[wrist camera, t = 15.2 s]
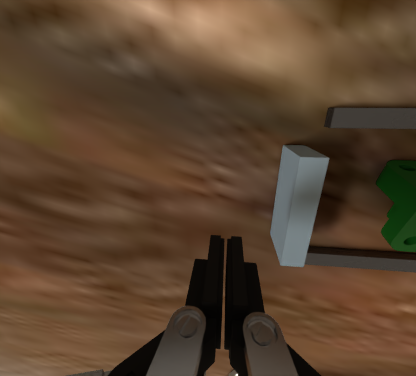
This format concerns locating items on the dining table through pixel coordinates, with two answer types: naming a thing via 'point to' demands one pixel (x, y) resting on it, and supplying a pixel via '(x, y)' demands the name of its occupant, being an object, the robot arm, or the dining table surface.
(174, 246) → the dining table surface
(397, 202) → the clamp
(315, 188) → the block
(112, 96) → the dining table surface
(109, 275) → the dining table surface
